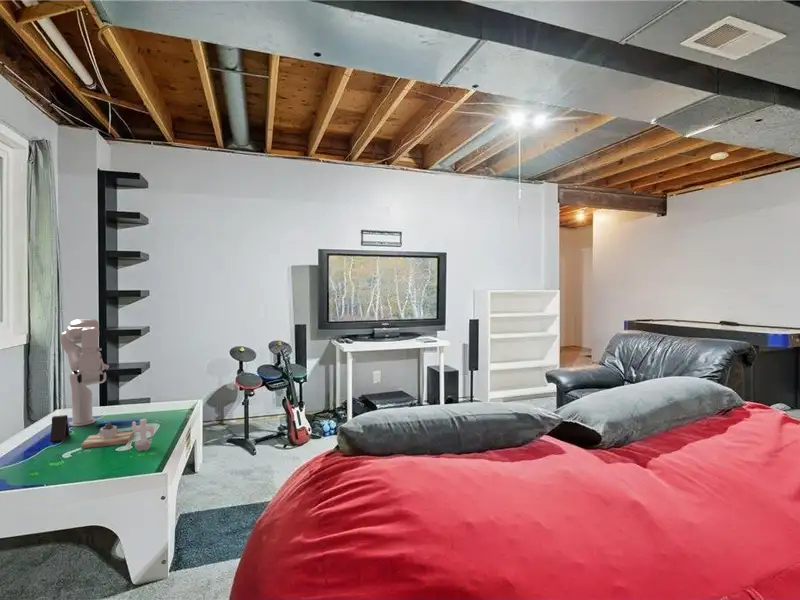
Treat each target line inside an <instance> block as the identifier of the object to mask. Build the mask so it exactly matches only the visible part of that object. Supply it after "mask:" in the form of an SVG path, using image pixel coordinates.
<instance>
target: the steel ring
mask: <svg viewBox="0 0 800 600" xmlns="http://www.w3.org/2000/svg"><path fill="white" fill-rule="evenodd" d="M117 433H118V425H112V428H111V429H105V426H102V427H100V429H99V434H100V439H102V440H107V439H112V438H115V437H116V436H117Z"/></svg>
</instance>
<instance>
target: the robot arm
mask: <svg viewBox="0 0 800 600" xmlns="http://www.w3.org/2000/svg"><path fill="white" fill-rule="evenodd" d="M68 324H69V325H68V326H67V327H66V329H65V331H64V332H61V334H60V345H61V347H62V349H63V350H64V352H65V353H66V354H67V358H68V362H69V367H70V370H71V371H72V372H71V373H70V374H69V382H70V387H71V411H72V412H71V413H72V416H71V417H72V421H71V420H70V422H68V426H71V427H80V426H86V425H87V426H88V425H91V424H94V423H95V422H96V421H97V420H96V418H94V417H93V392H92V390H91V389H90V388H89V387H87V386H91V385H99V384H103V383H105V382H106V381H107V371H108V369H109V368H110V365H109V364H106V363H104V361H103V357H102V354H101V352H100V351H102V347H101V348H100V346H99V336H100V330H99V329H100V324H99V322H98V320H97V319H95V318H81V319H80V318H79V319H74V320H72V321H70V323H68ZM78 344H81V345H80V346H79V345H78Z"/></svg>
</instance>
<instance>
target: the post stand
mask: <svg viewBox="0 0 800 600" xmlns="http://www.w3.org/2000/svg"><path fill="white" fill-rule="evenodd" d="M112 426H113V424H112V422H109V423H105V424H104V427H105V429H111V428H112ZM133 434H134V435H135V433H133V431H132V430H130V431H120V432H119V431H117V436H116V437H115V438H112V439H107V440H102V439H100V433H99V434H89V436H88V437H87V438H86V439H85V440H84V441H83V442H82V443H81V444H80V447H81V449H88V448H98V447H107V446H115V445H125V443H126V444H129V443H130V441H131V439H132V438H133V437H134V435H133ZM131 437H132V438H131ZM129 440H130V441H129ZM128 442H129V443H128Z"/></svg>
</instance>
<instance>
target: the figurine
mask: <svg viewBox="0 0 800 600" xmlns="http://www.w3.org/2000/svg"><path fill="white" fill-rule="evenodd" d="M147 423H148V420H147V418H141V419H139V424H140V425H139V426H137V422H136V421H132V422H131V428H132V429H131V431H133V433H134V434H137V433H140V439H139V440H135V442H134V447H135V449H136V451H137V452H143V451H142V450H145V451H149V450H150V447H151V445H152V442H153V438H147V432H150V436H151V437H154V436H155V426H154V425H153V424H148V425H147Z"/></svg>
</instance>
